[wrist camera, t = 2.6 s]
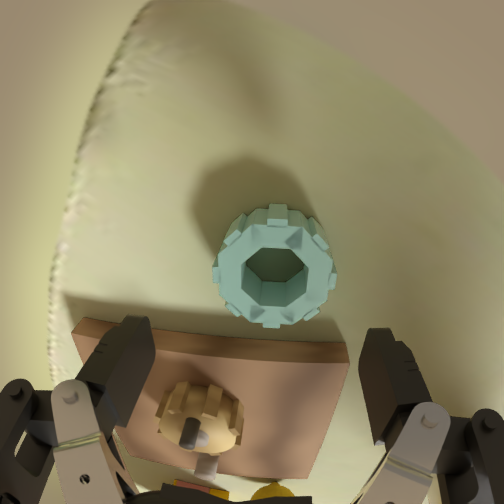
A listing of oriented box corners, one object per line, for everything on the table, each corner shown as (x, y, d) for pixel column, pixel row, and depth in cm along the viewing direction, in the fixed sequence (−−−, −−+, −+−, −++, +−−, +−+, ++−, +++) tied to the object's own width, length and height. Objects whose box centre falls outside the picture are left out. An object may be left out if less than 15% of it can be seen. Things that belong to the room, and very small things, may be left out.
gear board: (345, 342, 19) (361, 421, 13) (307, 463, 27) (307, 515, 21) (83, 317, 21) (39, 373, 15) (135, 441, 28) (118, 487, 22)
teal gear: (335, 207, 16) (344, 223, 13) (322, 304, 18) (327, 330, 16) (220, 201, 16) (210, 216, 14) (222, 298, 19) (215, 323, 16)
